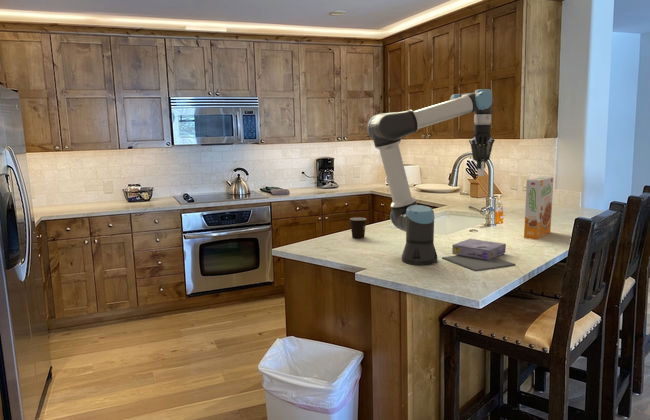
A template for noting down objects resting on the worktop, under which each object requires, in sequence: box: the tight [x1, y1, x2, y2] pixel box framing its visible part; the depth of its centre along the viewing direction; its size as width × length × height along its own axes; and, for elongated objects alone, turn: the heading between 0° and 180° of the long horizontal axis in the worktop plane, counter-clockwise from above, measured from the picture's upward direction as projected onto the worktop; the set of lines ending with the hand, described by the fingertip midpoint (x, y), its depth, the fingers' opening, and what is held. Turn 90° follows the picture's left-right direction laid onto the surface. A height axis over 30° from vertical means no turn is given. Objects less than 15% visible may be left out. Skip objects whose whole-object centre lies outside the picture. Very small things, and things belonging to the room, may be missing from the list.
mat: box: [441, 255, 516, 272], centre depth 213 cm, size 20×22×1 cm
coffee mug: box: [349, 217, 367, 240], centre depth 265 cm, size 12×9×10 cm
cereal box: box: [523, 175, 554, 240], centre depth 262 cm, size 22×6×30 cm, turn 139°
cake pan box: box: [451, 238, 507, 260], centre depth 224 cm, size 19×5×18 cm
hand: (480, 175), depth 232 cm, fingers closed
